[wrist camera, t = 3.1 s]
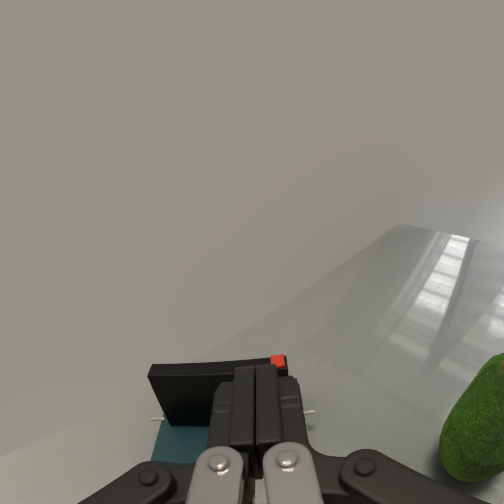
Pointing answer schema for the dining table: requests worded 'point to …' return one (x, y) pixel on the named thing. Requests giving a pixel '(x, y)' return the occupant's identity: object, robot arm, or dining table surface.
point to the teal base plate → (182, 443)
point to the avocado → (476, 427)
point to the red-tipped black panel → (198, 386)
